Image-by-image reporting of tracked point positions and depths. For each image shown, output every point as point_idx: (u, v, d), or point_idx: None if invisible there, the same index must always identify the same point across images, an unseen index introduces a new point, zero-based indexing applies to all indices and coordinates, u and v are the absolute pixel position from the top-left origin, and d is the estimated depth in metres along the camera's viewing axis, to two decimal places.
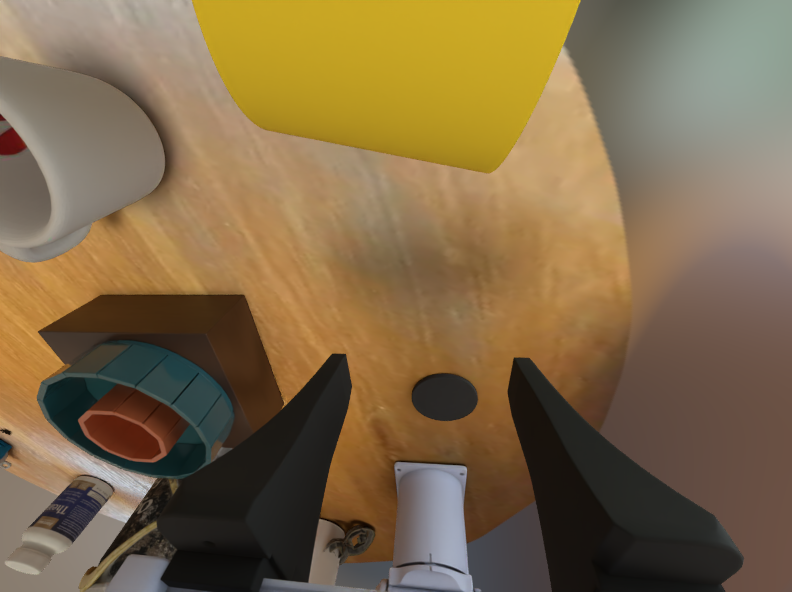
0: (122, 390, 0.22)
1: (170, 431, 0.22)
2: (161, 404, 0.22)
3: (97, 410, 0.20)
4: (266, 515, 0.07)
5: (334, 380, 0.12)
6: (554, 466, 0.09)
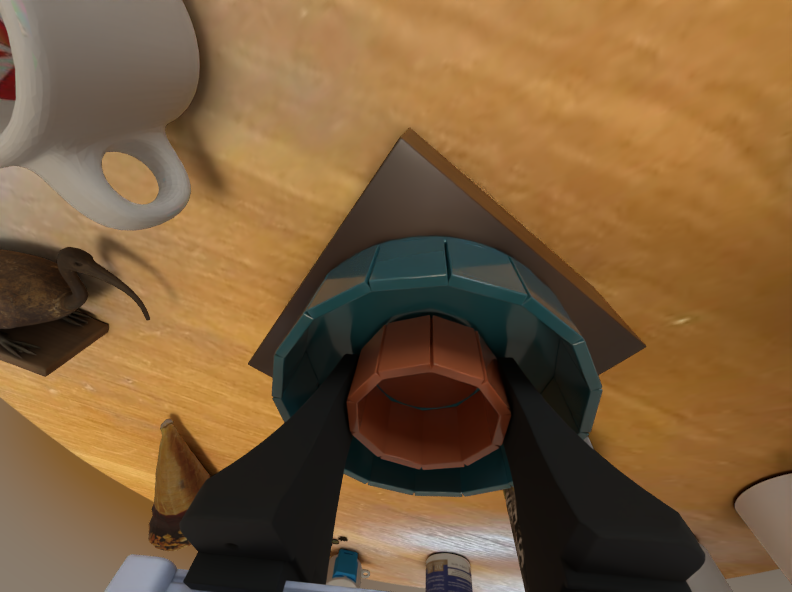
0: (368, 353, 0.12)
1: (483, 366, 0.11)
2: (433, 332, 0.11)
3: (356, 389, 0.11)
4: (289, 517, 0.07)
5: (348, 381, 0.12)
6: (530, 465, 0.09)
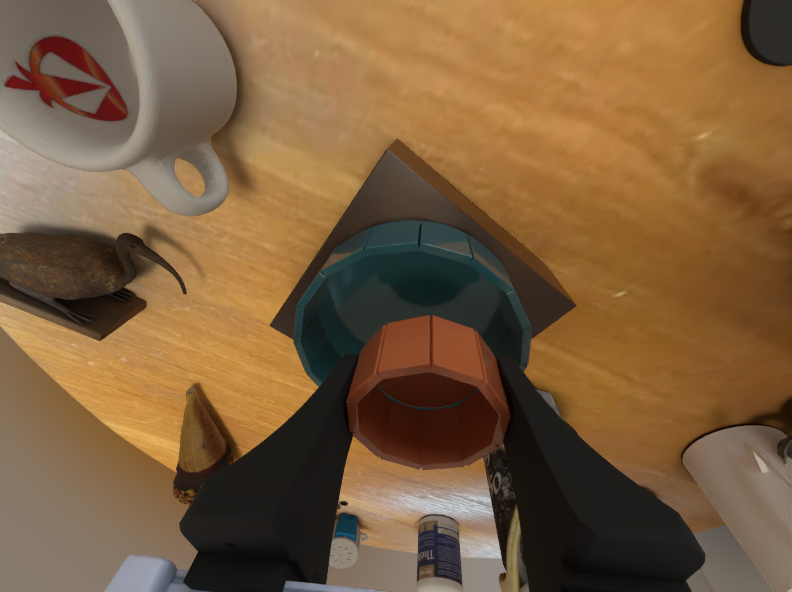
0: (368, 353, 0.12)
1: (483, 366, 0.11)
2: (433, 332, 0.11)
3: (356, 389, 0.11)
4: (289, 517, 0.07)
5: (349, 381, 0.12)
6: (530, 465, 0.09)
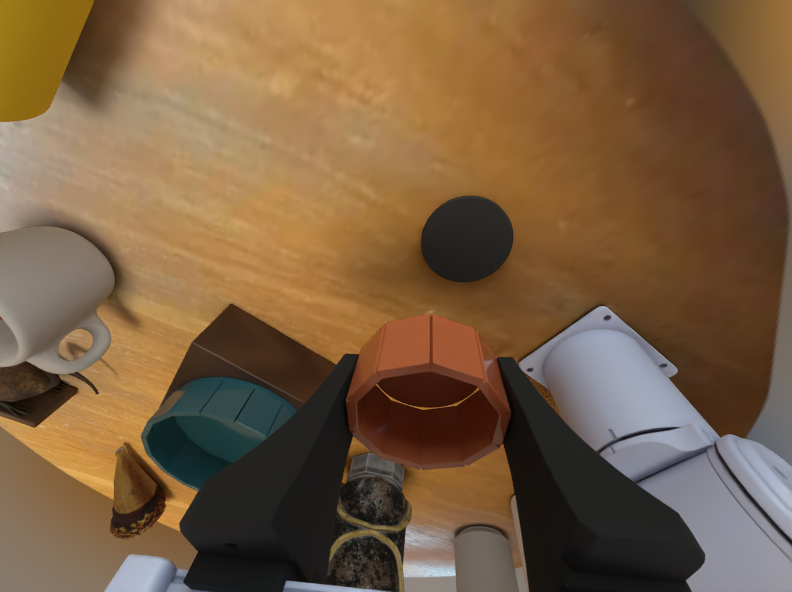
0: (368, 352, 0.12)
1: (483, 365, 0.11)
2: (433, 331, 0.11)
3: (356, 389, 0.11)
4: (289, 517, 0.07)
5: (348, 380, 0.12)
6: (530, 465, 0.09)
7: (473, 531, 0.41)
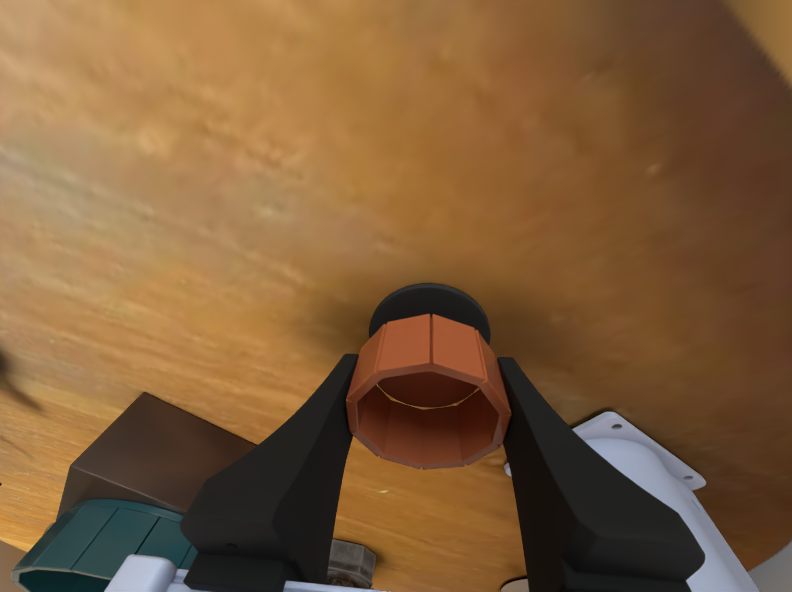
0: (368, 352, 0.12)
1: (483, 365, 0.11)
2: (433, 331, 0.11)
3: (356, 389, 0.11)
4: (289, 517, 0.07)
5: (348, 380, 0.12)
6: (530, 465, 0.09)
7: None
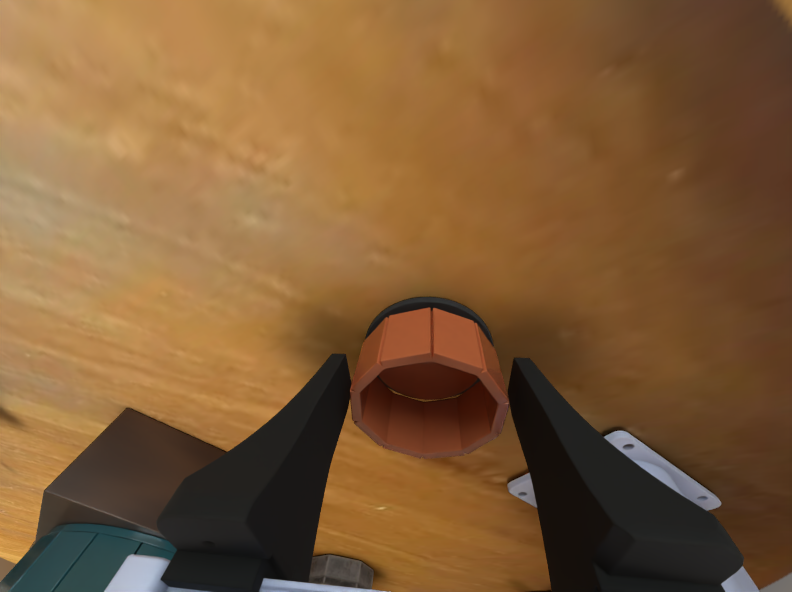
0: (370, 344, 0.12)
1: (482, 356, 0.11)
2: (434, 323, 0.11)
3: (359, 379, 0.11)
4: (266, 515, 0.07)
5: (334, 380, 0.12)
6: (554, 466, 0.09)
7: None
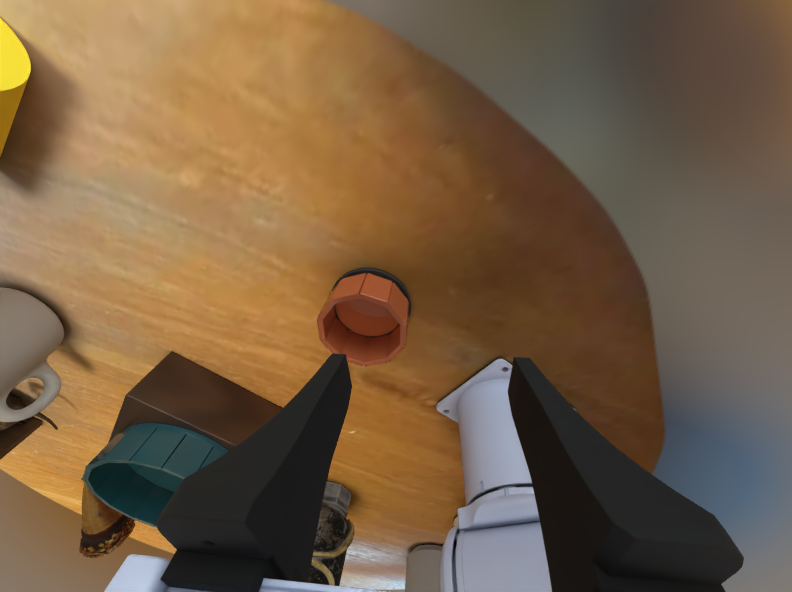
0: (330, 295, 0.21)
1: (390, 297, 0.19)
2: (365, 280, 0.20)
3: (321, 311, 0.20)
4: (266, 515, 0.07)
5: (334, 380, 0.12)
6: (554, 466, 0.09)
7: (423, 549, 0.43)
